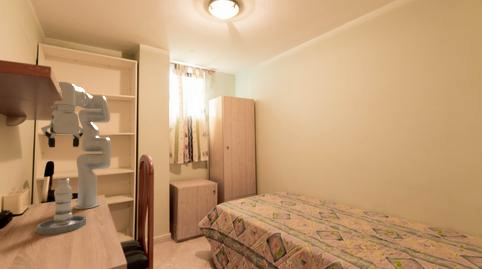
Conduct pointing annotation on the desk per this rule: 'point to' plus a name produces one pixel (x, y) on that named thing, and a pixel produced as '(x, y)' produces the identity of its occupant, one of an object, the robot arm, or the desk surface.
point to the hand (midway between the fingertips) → (64, 147)
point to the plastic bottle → (63, 203)
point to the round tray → (60, 226)
